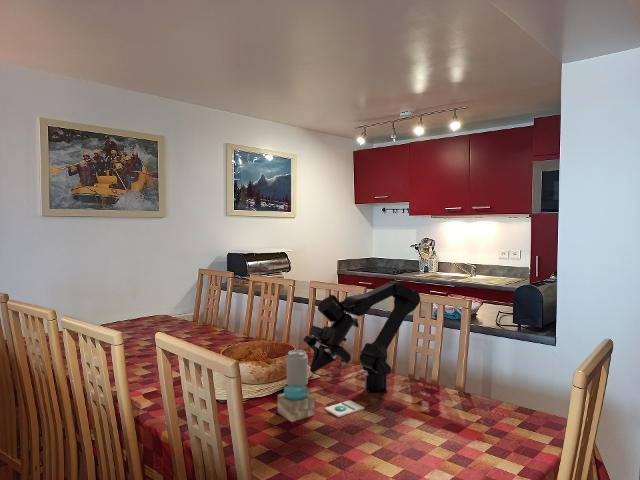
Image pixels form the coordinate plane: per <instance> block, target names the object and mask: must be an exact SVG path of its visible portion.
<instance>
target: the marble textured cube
mask: <svg viewBox="0 0 640 480" xmlns="http://www.w3.org/2000/svg"><path fill="white" fill-rule="evenodd" d="M277 413H278V414H279V415H281V416H282V417H283V418H285V420H288V421H289V422H291V423H294V422H296V421H299V420H302V419H303V420H304V419H306V418H310V417H313V416H315V397H314V396H313V395H311V394H309V393H308V392H307V397H306V398H304V399H300V400H290V399H286V398H285V397H284V392H283V393H279V394H277Z"/></svg>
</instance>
